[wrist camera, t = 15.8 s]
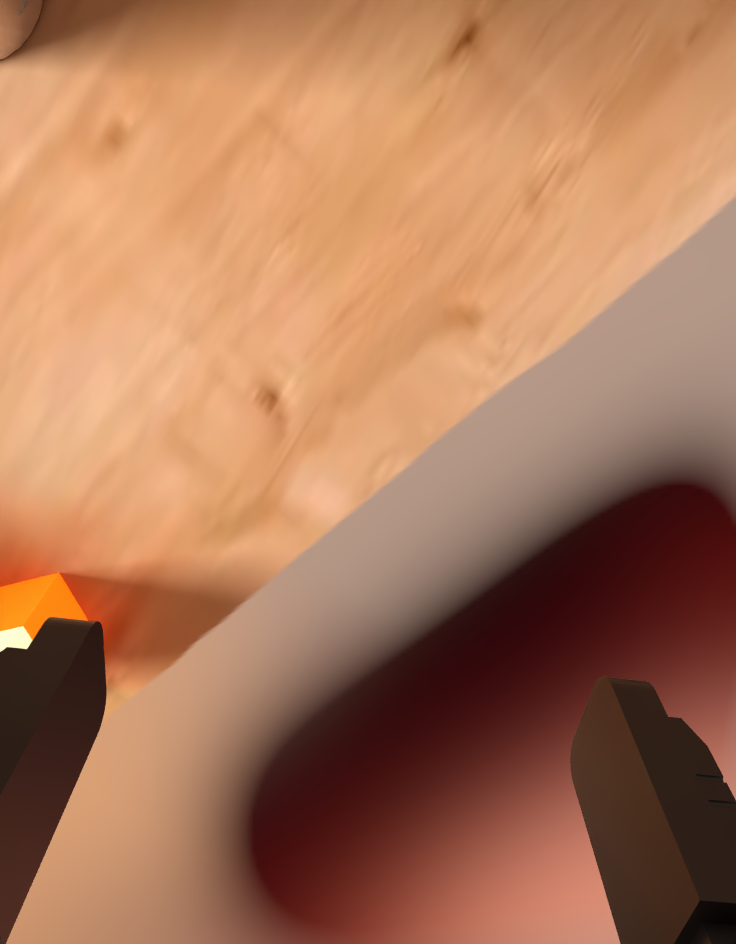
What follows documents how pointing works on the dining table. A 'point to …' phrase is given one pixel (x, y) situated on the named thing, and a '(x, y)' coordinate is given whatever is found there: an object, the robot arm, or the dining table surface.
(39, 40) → the dining table surface
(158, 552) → the dining table surface
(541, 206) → the dining table surface
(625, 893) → the robot arm
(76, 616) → the orange juice
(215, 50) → the dining table surface
